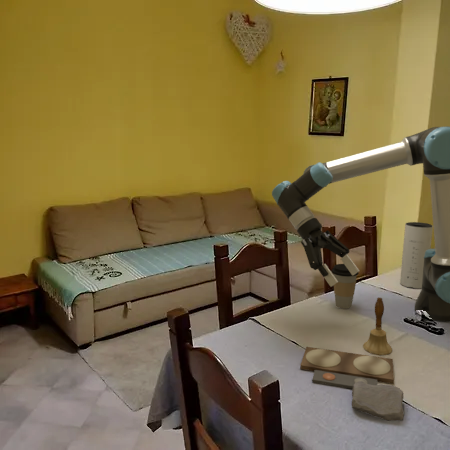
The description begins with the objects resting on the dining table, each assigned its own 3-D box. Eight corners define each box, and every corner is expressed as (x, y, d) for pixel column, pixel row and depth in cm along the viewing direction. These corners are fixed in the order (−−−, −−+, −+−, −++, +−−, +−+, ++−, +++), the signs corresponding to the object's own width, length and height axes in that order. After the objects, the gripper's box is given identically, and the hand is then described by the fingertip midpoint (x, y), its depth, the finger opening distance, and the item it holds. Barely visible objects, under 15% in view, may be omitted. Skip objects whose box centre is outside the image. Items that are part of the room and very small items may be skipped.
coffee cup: (354, 301, 169) (356, 263, 166) (358, 311, 160) (361, 271, 157) (328, 300, 170) (330, 262, 167) (332, 310, 161) (333, 270, 158)
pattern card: (377, 382, 116) (377, 378, 116) (377, 393, 111) (377, 389, 111) (314, 372, 121) (314, 369, 121) (312, 382, 116) (312, 378, 116)
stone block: (404, 430, 101) (402, 398, 109) (405, 414, 99) (403, 382, 107) (349, 422, 105) (352, 391, 113) (349, 406, 103) (352, 376, 111)
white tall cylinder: (430, 284, 186) (436, 222, 180) (422, 291, 178) (428, 227, 173) (405, 278, 193) (409, 219, 187) (396, 285, 185) (400, 223, 180)
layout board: (392, 362, 125) (392, 357, 125) (393, 383, 115) (393, 378, 115) (306, 350, 133) (306, 345, 133) (300, 369, 123) (300, 364, 123)
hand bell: (371, 356, 129) (375, 304, 125) (357, 343, 137) (360, 294, 133) (397, 353, 130) (401, 302, 127) (382, 340, 138) (386, 292, 135)
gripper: (318, 224, 155) (356, 275, 149) (275, 237, 138) (316, 295, 131) (333, 211, 151) (372, 263, 144) (290, 223, 133) (333, 282, 126)
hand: (345, 278), depth 137 cm, fingers open, 13 cm apart
